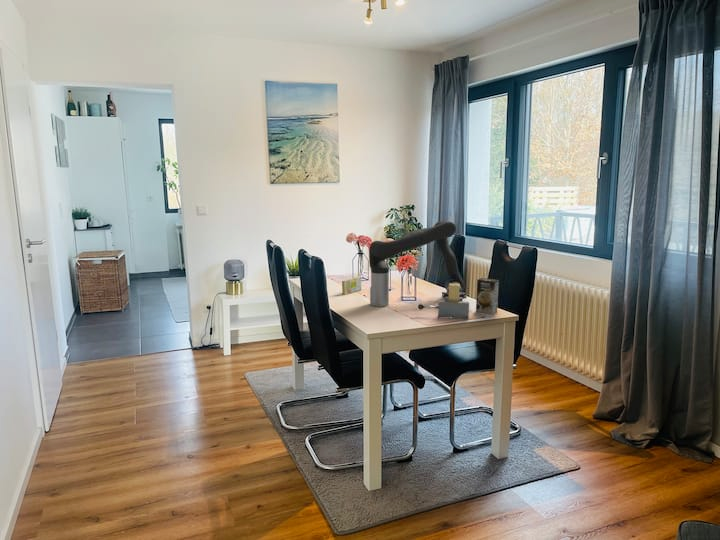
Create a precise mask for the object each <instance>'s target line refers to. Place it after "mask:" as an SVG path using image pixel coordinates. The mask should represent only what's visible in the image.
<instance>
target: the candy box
mask: <svg viewBox="0 0 720 540" xmlns="http://www.w3.org/2000/svg"><path fill="white" fill-rule="evenodd" d="M341 289H342V291H341V292H342V294H341V295H342V296H347V295H350V294H354V293H357V291H358V292H361V291H362V276H356V277H352V278H349V279H344V280H342V281H341ZM360 290H361V291H360Z"/></svg>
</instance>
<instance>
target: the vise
mask: <svg viewBox="0 0 720 540" xmlns="http://www.w3.org/2000/svg"><path fill="white" fill-rule="evenodd" d="M417 309H418V310H424V309H433V310H438V314H437V315H438V317H449V318H448V319H458V318H463V319H462V320H470V319H469V316H470V302H469V301H462V302H461V301H446V300H438V305H424V304H422V303H419V304H418V305H417ZM438 317H437V318H438ZM450 317H452V318H450Z"/></svg>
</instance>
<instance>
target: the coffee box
mask: <svg viewBox="0 0 720 540" xmlns="http://www.w3.org/2000/svg"><path fill="white" fill-rule="evenodd" d="M476 281H477V282H476V302H475V304H476V305H475V312H478V313H482V314H483V313H484V314H489V315H490V314H492V315H494V314H495V313H497V312H498V305H499V304H498V303H499V301H498V299H499V285H500V280H499V279H493V278H485V277H484V278H483V277H481V278H478V279H476Z"/></svg>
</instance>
